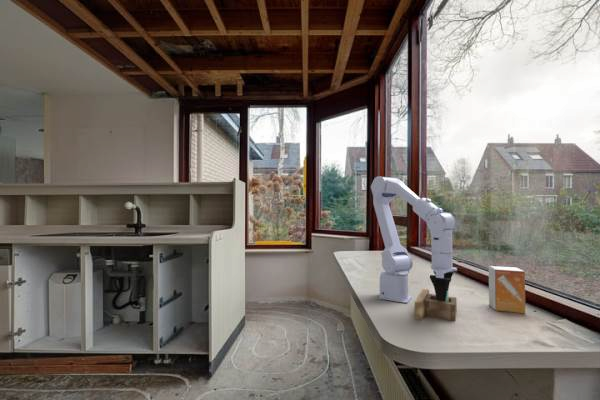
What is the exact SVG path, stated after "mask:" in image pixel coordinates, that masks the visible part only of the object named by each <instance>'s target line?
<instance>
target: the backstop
mask: <svg viewBox="0 0 600 400" xmlns="http://www.w3.org/2000/svg"><path fill="white" fill-rule="evenodd" d="M428 294H430V289H424V288H422V289H421V291H420V293H418V296H417V297H416V299H415V300H414V319H415V320H418V321H419V320H420V321H423V319H424V318H425V299H426V297H427V295H428Z"/></svg>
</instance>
